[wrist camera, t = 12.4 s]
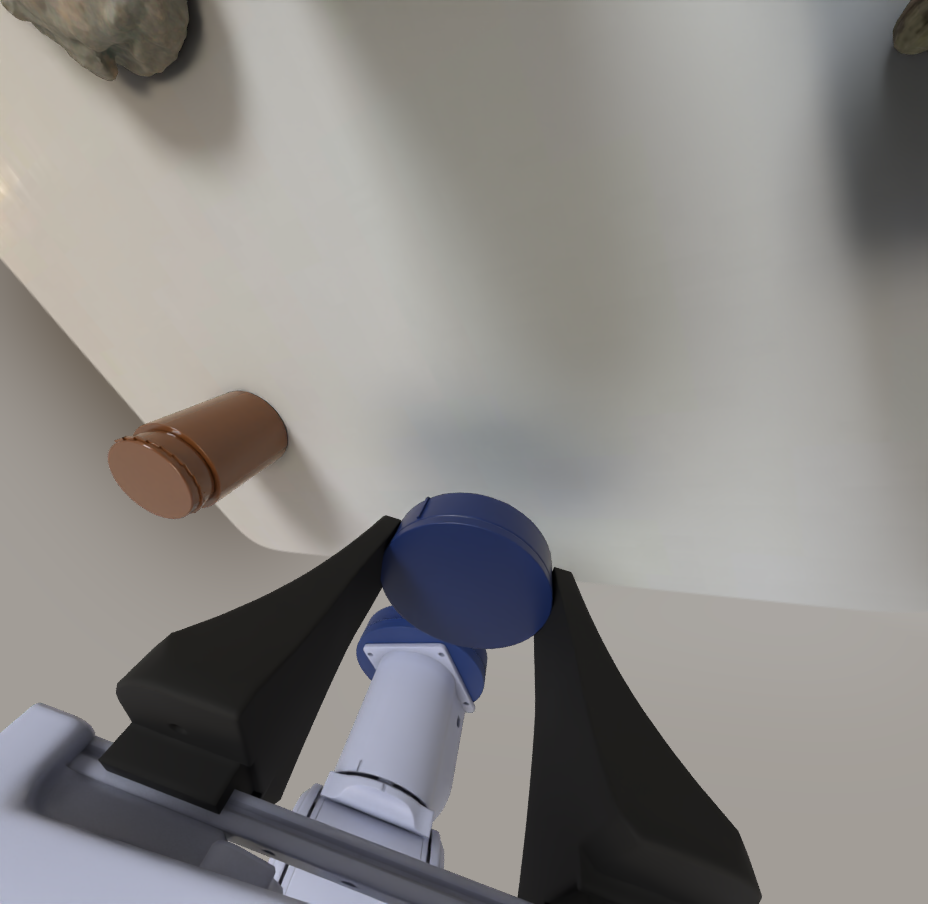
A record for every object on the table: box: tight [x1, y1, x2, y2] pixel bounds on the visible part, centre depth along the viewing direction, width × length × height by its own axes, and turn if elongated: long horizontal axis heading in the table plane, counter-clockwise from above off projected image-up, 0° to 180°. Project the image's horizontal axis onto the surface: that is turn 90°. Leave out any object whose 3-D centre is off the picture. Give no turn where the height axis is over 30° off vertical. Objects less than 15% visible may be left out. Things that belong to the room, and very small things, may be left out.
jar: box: [108, 391, 287, 519], centre depth 20 cm, size 5×5×7 cm
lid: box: [381, 493, 553, 649], centre depth 12 cm, size 6×6×2 cm
